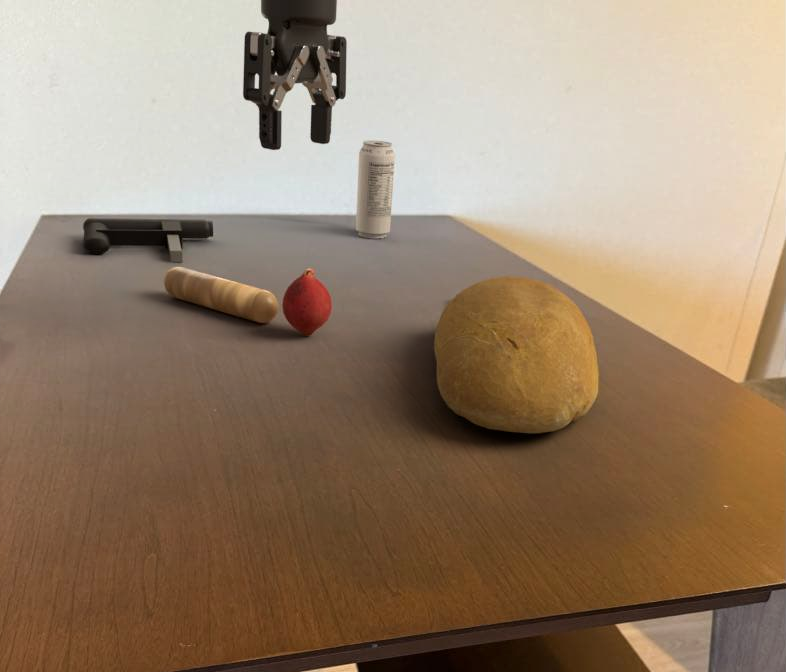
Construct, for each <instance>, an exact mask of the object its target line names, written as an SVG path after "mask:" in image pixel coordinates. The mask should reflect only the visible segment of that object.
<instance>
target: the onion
mask: <svg viewBox="0 0 786 672" xmlns="http://www.w3.org/2000/svg"><path fill="white" fill-rule="evenodd" d="M315 274H316V273H315V271H314V269H313V268H306V269H305V270H304V271H303V272H302V274H301V275H300V276H299V277H297V278H296V279H294V280H293V281H292V282H291V284H290V285H288V287H287V289H286V291H285V292H284V295H283V298H282V304H281V306H282V313H283V316H284V317H285V319H286V321H287V322H288V323H289V325H290V326H291V327H292V328H294V330H296V331H298V332H299V333H300V334H302V335H303V336H306V337H307V336H308V337H309V336H312V335H313V334H314V333H315V332H316V331H317V330H319V329H320V328H321V327H323V325H325V324H326V323H327V322H328V320H329V318H330V317H331V314H332V306H333V304H332V298H331V294H330V292H329V291H328V288H327V287H326V286H325V285H324V283H322V282H321V281H320V280H319V279H318V278H316V277H315Z"/></svg>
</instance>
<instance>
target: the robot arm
mask: <svg viewBox="0 0 786 672" xmlns="http://www.w3.org/2000/svg"><path fill="white" fill-rule="evenodd" d="M337 5H338V0H260V13H261V16H262V17H263V19H266V20H267V21H268V29H267V32H266V33H263V32H258V31H246V32H245V34H244V43H243V45H244V46H243V78H242V95H243V98H244V100H245V101H247V102H251V103H253V104H255V105H256V107H257V108H258V139H259V141H260V145H261V147H262V149H267V150H271V151H278V150H280V149H281V148H282V123H283V122H282V121H283V120H282V116H283V115H282V113H283V112H282V111H283V110H281V107H282V104H283V102H284V99H285V97H286V95H287V93H289V92H290V91H292V90H293V89H294V86H295V84H301V85H303V87H305V88H306V90H307V91H308V94H309V97H310V99H311V102H312V103H313V104H311V105H310V137H309V138H310V141H311V142H312V143H315V144H319V145H320V144H321V145H326V144H327V145H328V144H329V143H330V141H331V134H332V117H333V115H332V114H333V107H334V106H336V102H337V101H338V100H344V99H345V98H346V94H347V49H348V48H347V45H348V43H347V42H348V41H347V38H346V37H345V36H339V35H332V34H328V26H332V25H334V24H335V23H336V21H337V7H338V6H337ZM333 74H335V85H334V84H332V83H333V81H334V78H333V76H332V75H333ZM256 75H258V88H257V87H256ZM273 90H274V91H273ZM272 91H273V92H272ZM271 92H272V94H271Z"/></svg>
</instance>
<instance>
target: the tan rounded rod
mask: <svg viewBox="0 0 786 672" xmlns="http://www.w3.org/2000/svg"><path fill="white" fill-rule="evenodd" d="M163 285H164V289H165V290H166V292H167V293H168V294H169V295H170V296H171V297H173V298H175V299H177V300H181V301H185V302H188V303H192V304H194V305H197V306H198V305H199V306H201V307H205V308H208V309H210V310H211V309H212V310H215V311H219V312H222V313H224V314H228V315H231V316H235V317H238V318H242V319H245V320H248V321H253V322H255V323H259V324H267V323H270V322H272V321H273V320H274V319H275V318H276V317H277V315H278V312H279V307H280V306H279V302H278V299H277V297H276V296H275V295H274V294H273V293H272V292H271V291H269V290H266V289H263V288H259V287H256V286H252V285H247V284H244V283H241V282H237V281H234V280H230V279H227V278H223V277H219V276H215V275H211V274H208V273H204V272H201V271H197V270H195V269H189V268H186V267H183V266H175V267H172V268H171V269H169V270H168V271H167V272H166V273H165V275H164V278H163Z"/></svg>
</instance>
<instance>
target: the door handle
mask: <svg viewBox="0 0 786 672" xmlns="http://www.w3.org/2000/svg"><path fill="white" fill-rule="evenodd" d="M82 229H83V248H84V250H85V251H87V252H88V253H90V254H94V255H101V254H104V253H106V252H108V251H109V250H110V247H164V250H166V249H167V250H168V254H169V259H170V263H183V251H182V249H184V246H183V245H184V244H183V239H190V240H191V239H199V240H200V239H202V240H203V239H204V240H205V239H209V238H214V223H213V220H208V219H206V218H148V217H147V218H146V217H145V218H143V217H142V218H141V217H139V218H138V217H135V218H134V217H89V218H86V219H85V220H84V222H83V224H82Z"/></svg>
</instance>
